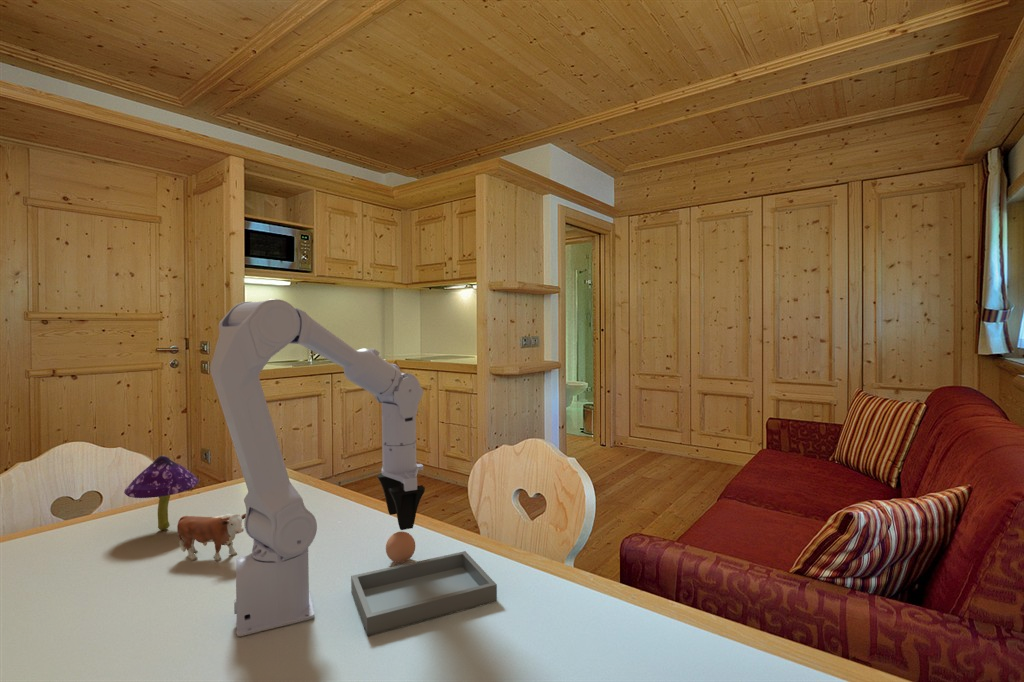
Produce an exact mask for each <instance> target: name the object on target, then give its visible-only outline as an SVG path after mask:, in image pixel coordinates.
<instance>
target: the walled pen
mask: <svg viewBox="0 0 1024 682" xmlns="http://www.w3.org/2000/svg"><path fill="white" fill-rule="evenodd" d="M350 577H351V579H350V581H351V582H350V583H351V584H350V585H351V587H350V589H351V590H350V591H351V595H352V598H353V601H354V603H355V606H356V609H357V612H358V614H359V615H358V616H359V617H360V620H361V623H362V626H363V628H364V632H365V635H366V637H371V636H375V635H378V634H383V633H385V632H386V633H387V632H389V631H393V630H396V629H400V628H403V627H408V626H412V625H416V624H419V623H421V622H426V621H429V620H433V619H437V618H441V617H444V616H448V615H452V614H456V613H459V612H462V611H466V610H471V609H474V608H477V607H482V606H484V605H488V604H492V603H495V602H498V595H497V594H498V593H497V592H498V588H497V587H498V585H497V583H496V582H495V581H494V580H493V579H492V578H491V576H489V574H488V573H487V572H486V571H485V570H484V569H483V568H482V567H481V566H480V565H479V564H478V563H477V562H476V561H475V559H473V558H472V556H471V555H469V553H468V552H467V551H466V550H465V551H459V552H455V553H451V554H446V555H440V556H437V557H432V558H426V559H423V560H418V561H417V560H416V561H413V562H409V563H405V564H404V563H403V564H400V565H395V566H391V567H386V568H382V569H378V570H377V569H376V570H372V571H368V572H363V573H358V574H353V575H351V576H350Z"/></svg>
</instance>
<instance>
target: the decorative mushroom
mask: <svg viewBox="0 0 1024 682" xmlns="http://www.w3.org/2000/svg"><path fill="white" fill-rule="evenodd" d="M199 483H200V479H199V478H198V477H197V476H195V474H194V473H192V472H191V471H190V470H189V469H187V468H186V467H184V466H182V465H181V464H179V463H177V462H175V461H173V460H172V459H171V458H170V457H168V456H166V455H160V456H158V457H157V458H155V460H153V462H152V463H151V464H150V465H149V466H147V467H146V468H144V470H143V471H141V472H140V473H139V474H138V475H137V476H136V477H135V478H134V479H133V480H132V481H131V482H130V484H128V486H127V487H126V488H125V489H124V492H123V493H124V495H126V497H129V498H133V499H134V498H135V499H150V498H159V500H158V505H157V524H158V525H157V528H158V530H161V531H165V530H167V529H169V527H170V526H171V525H170V522H169V502H170V499H171V495H176V494H180V493H184V492H186V491H189V490H191V489H193V488H195V487H196V486H198V484H199Z"/></svg>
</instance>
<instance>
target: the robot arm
mask: <svg viewBox="0 0 1024 682" xmlns="http://www.w3.org/2000/svg"><path fill="white" fill-rule="evenodd" d="M218 330H219V331H218V333H219V335H218V338H217V341H216V345H215V349H214V352H213V355H212V359H211V363H210V367H209V368H210V375H211V378H212V381H213V385H214V387H215V390H216V395H217V397H218V400H219V403H220V406H221V410H222V413H223V416H224V420H225V422H226V426H227V429H228V432H229V435H230V438H231V441H232V444H233V448H234V450H235V454H236V457H237V460H238V464H239V466H240V469H241V472H242V476H243V480H244V482H245V486H246V489H247V491H248V492H247V493H246V496H245V497H244V499H243V502H244V505H245V514H246V516H245V518H244V521H243V522H244V530H245V532H246V534H247V535H248V537H250V538H251V539H252V540H253V545H252V549H251V553H249V554H246V555H243V556H239V557H237V558H236V562H235V597H236V598H235V600H234V601H233V604H234V608H233V611H234V615H236V636H237V637H243V636H247V635H252V634H255V633H259V632H262V631H263V632H264V631H266V630H272V629H275V628H279V627H280V628H281V627H283V626H288V625H292V624H296V623H299V622H300V623H301V622H305V621H308V620H312V619H314V618H315V609H314V603H313V599H312V593H311V590H310V582H309V581H310V574H309V572H310V571H309V547H310V546H311V544H313V542H314V539H315V537H316V534H317V532H318V531H317V530H318V523H317V519H316V517H315V515H314V514H313V513H312V512H311V511H310V510H309V509H307V508H306V505H305V503H304V500H303V497H302V495H301V494H300V493H299V492H298V490H297V489H296V488H295V486H294V485H293V483H292V482H291V481H290V478H289V474H288V470H287V468H286V463H285V461H284V456H283V454H282V451H281V447H280V443H279V441H278V437H277V434H276V433H277V432H276V430H275V426H274V424H273V420H272V417H271V413H270V409H269V407H268V403H267V400H266V395H265V393H264V390H263V386H262V383H261V379H260V373H261V372H262V370H263V369H264V367H266V365H268V362H269V361H270V360H271V358H273V356H275V355H276V354H277V353H279V352H281V350H283V349H284V348H286V347H287V346H288V345H290V344H292V345H301V346H302V347H304V348H306V349H308V350H310V351H312V352H314V353H315V354H317V355H319V356H321V357H323V358H325V359H327V360H328V361H330V362H331V363H332V362H333V363H334V364H336V365H338V366H340V367H341V368H343V373H344V374H343V375H344V376H345V377H344V378H345V379H346V380H348V381H350V382H351V383H353V384H355V385H356V386H358V387H360V388H362V389H363V390H365V391H366V392H368V393H370V394H372V395H373V396H374V399H375V400H376V401H377V403H380V404H381V440H382V441H381V449H382V453H381V454H382V455H381V456H382V467H381V470H380V472H381V473H379V474H377V475H376V477H377V479H378V481H379V483H380V484H381V489H382V490H383V493H384V497H385V503H386V509H387V511H388V514H389V515H390V516H392V515H396V518H397V523H398V528H399V529H400V531H405V530H410V529H413V528H414V525H415V522H416V521H415V520H416V516H417V513H418V512H417V511H418V509H419V508H418V507H419V504H420V501H421V499H422V497H423V495H424V493H425V491H426V490H425V489H426V488H425V486H424V485H423V484H422V485H418V477H417V475H418V472H419V471H423V470H424V465H423V464H422V463H417V462H418V460H417V413H418V412H419V411H418V410H419V409H418V407H419V403H420V401H421V399H422V397H423V394H424V388H422V387H421V386H422V385H421V384H420V381H419V379H418V378H417V377H416V376H415V375H414V374H413V373H408V372H407V373H406V372H402V371H401V370H400V366H399V365H397V364H396V363H389V362H388V361H387V360H385V359H384V358H382V357H381V356H380V352H379V350H377V349H376V348H365V347H364V348H360V349H355V348H354V347H352V346H351V345H349V344H348V343H347V342H345V341H344V340H342V339H341V338H340V337H338V336H336V334H334V333H332V331H330V330H329V329H327V328H326V327H324V326H323V325H322V324H320V323H319V322H317V321H316V320H315V319H314V318H312V317H311V316H310V315H309V314H308V313H307V312H306V311H305V310H302V309H299V308H297V307H296V308H295V307H294V306H293V305H292V304H291V303H289V302H288V301H287V300H284V299H280V298H270V299H267V300H263V301H262V300H261V301H243V302H239V303H237V304H235V305H234V306H232V307H231V309H230V310H229V311H227V313H226V314H225V315H224V317H222V319H221V320H220V322H218Z"/></svg>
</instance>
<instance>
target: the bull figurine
mask: <svg viewBox="0 0 1024 682" xmlns="http://www.w3.org/2000/svg"><path fill="white" fill-rule="evenodd" d="M245 516H246V513H244V514H242V515H240V514H239V513H234V514H232V513H226V514H224V515H223V514H221V515H218V516H217V515H216V516H195V515H183V516H181V517H180V518H179V520H178V523H177V527H176V530H177V534H178V535H177V536H178V544H179V548H180V549H181V551H182V552H184V553H185V552H186V551H187V553H188V555H187V556H188V557H187V558H188V559H190V560H191V561H196V560H198V558H199V557H198V556H197V553H198V552H199V551H198V550H197V548H196V546H195V541H196V542H198V543H200V544H202V545H203V546H204V547H206V546H207V545H208V543H214V549H215V553H214V555H213V558H212V559H214V561H216V562H221V560H222V556H221V555H220V552H221V549H222V546H227V547H228V554H229V555H230V556H231V555H234V556H236V555H238V552H237V551H235V549H234V546H233V545H234V544H233V541H234V540H235V539H236V535H237V534H241V533H243V532H244V530H245V528H244V527H242V526H243V524H242V521H243V520H245ZM194 553H195V554H194Z"/></svg>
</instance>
